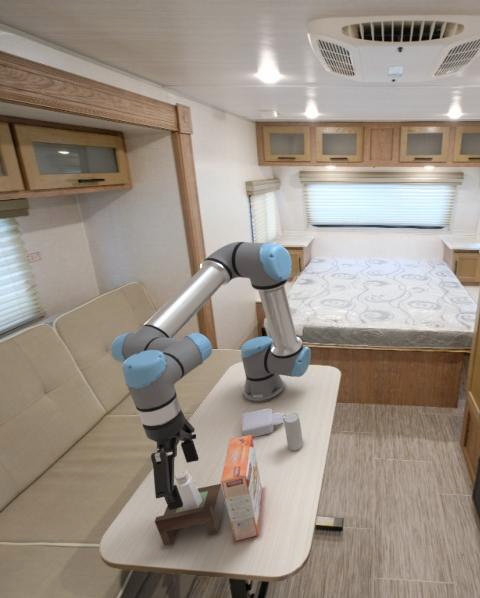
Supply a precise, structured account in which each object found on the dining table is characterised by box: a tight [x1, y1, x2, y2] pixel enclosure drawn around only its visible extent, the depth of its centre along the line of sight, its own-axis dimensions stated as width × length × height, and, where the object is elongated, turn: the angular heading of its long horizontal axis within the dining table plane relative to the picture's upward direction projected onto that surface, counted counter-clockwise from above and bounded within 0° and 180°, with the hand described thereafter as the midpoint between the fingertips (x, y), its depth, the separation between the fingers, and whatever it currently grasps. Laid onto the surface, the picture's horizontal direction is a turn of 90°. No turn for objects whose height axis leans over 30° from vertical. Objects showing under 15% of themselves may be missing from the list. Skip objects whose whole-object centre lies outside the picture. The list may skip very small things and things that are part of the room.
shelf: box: [154, 483, 226, 547], centre depth 89 cm, size 10×12×9 cm
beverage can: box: [283, 412, 304, 451], centre depth 112 cm, size 5×5×12 cm
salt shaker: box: [174, 468, 203, 512], centre depth 86 cm, size 5×5×11 cm
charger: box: [241, 407, 288, 438], centre depth 122 cm, size 5×9×15 cm
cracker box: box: [220, 435, 263, 542], centre depth 88 cm, size 14×6×21 cm, turn 17°
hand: (185, 482), depth 85 cm, fingers open, 13 cm apart
